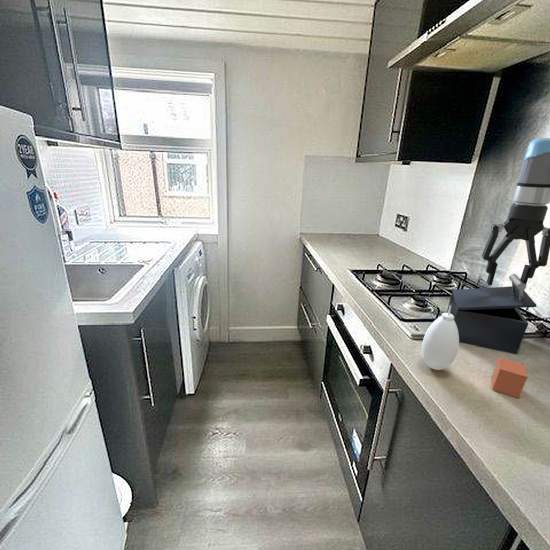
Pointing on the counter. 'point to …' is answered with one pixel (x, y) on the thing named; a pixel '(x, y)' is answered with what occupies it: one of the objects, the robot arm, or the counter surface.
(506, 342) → the dark grey box
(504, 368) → the terracotta toy cube
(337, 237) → the counter surface
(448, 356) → the white air blower bulb
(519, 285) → the box lid
